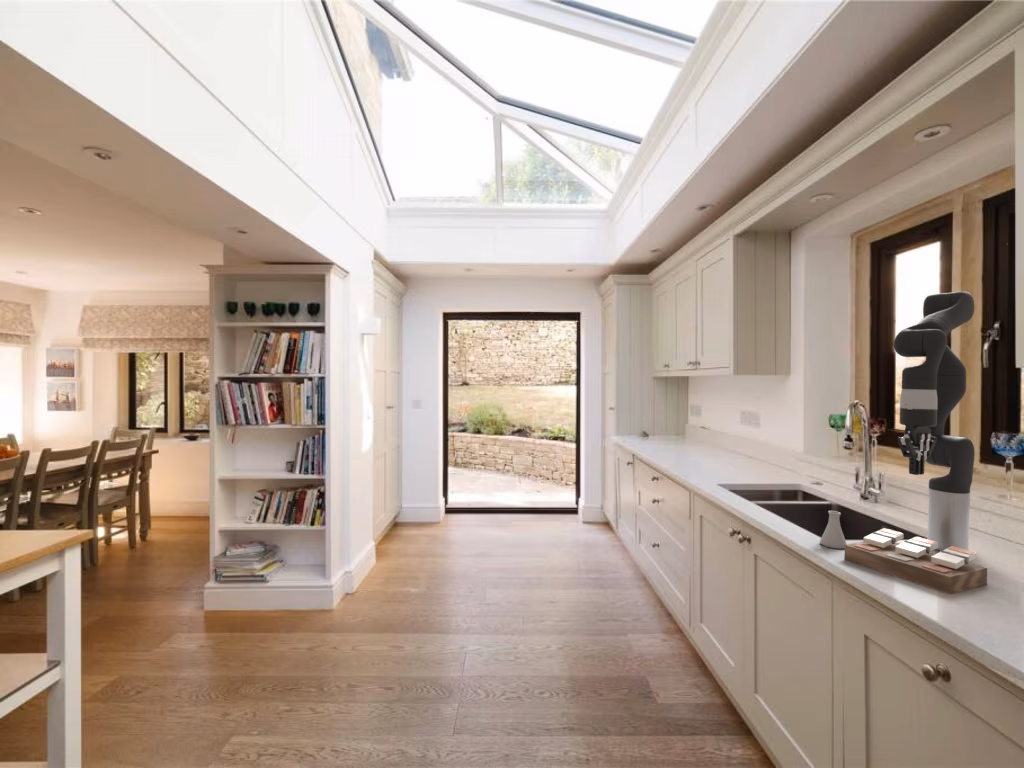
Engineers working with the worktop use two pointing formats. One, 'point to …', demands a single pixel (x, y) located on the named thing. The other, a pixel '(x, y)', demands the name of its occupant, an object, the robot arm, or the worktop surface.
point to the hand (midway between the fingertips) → (916, 474)
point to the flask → (833, 532)
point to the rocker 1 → (883, 537)
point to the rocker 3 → (954, 557)
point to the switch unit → (917, 568)
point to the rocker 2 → (916, 547)
